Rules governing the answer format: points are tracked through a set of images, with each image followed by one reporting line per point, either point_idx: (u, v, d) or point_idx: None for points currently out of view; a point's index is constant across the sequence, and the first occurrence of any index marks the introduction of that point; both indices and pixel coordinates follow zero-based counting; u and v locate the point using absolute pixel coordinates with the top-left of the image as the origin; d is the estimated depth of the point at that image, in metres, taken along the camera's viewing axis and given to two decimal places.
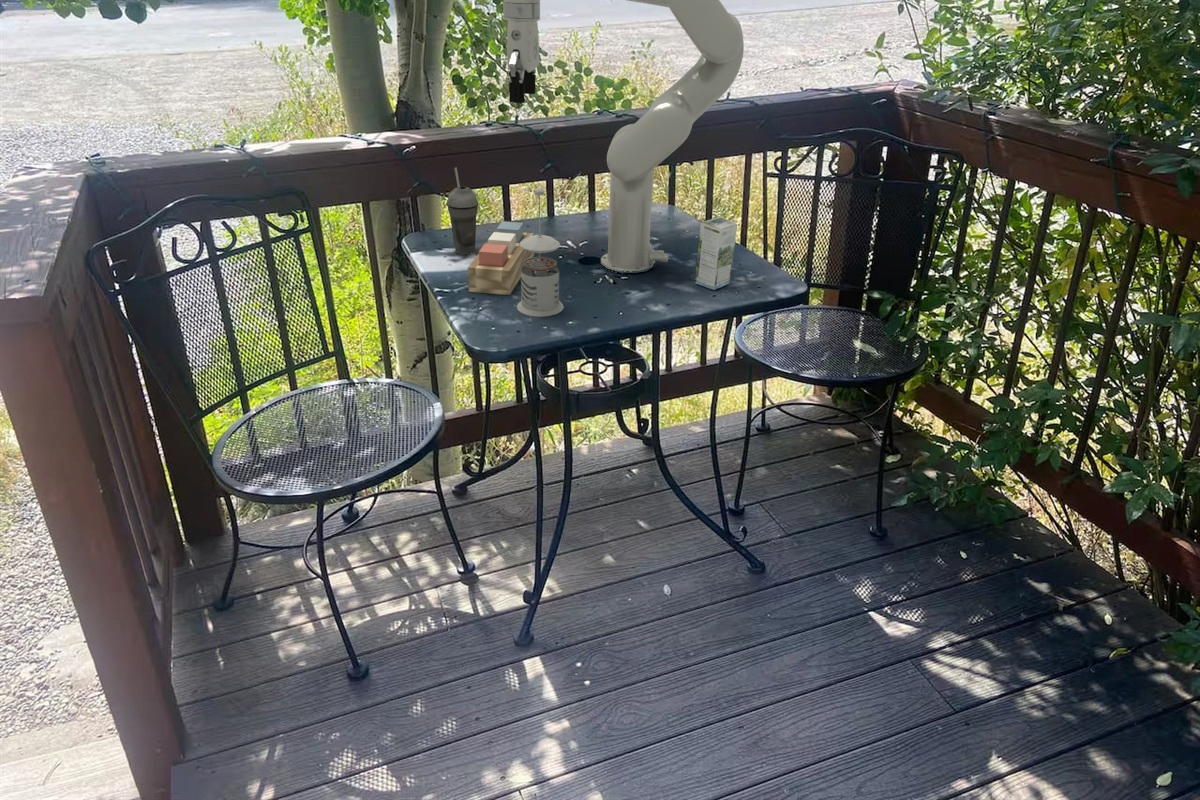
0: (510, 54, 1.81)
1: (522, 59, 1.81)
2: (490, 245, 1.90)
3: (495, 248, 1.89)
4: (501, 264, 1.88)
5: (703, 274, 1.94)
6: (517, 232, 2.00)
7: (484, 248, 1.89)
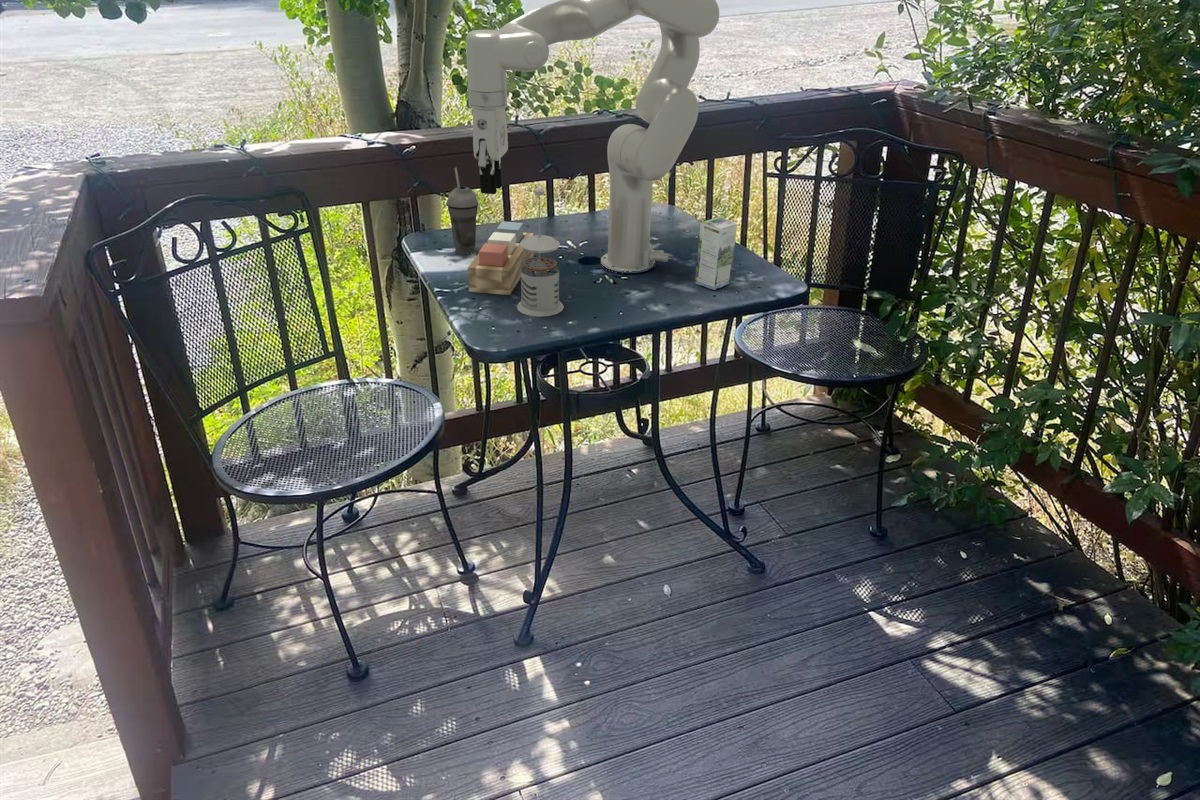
0: (476, 143, 1.73)
1: (489, 148, 1.73)
2: (490, 245, 1.90)
3: (495, 248, 1.89)
4: (501, 264, 1.88)
5: (703, 274, 1.94)
6: (517, 232, 2.00)
7: (484, 248, 1.89)
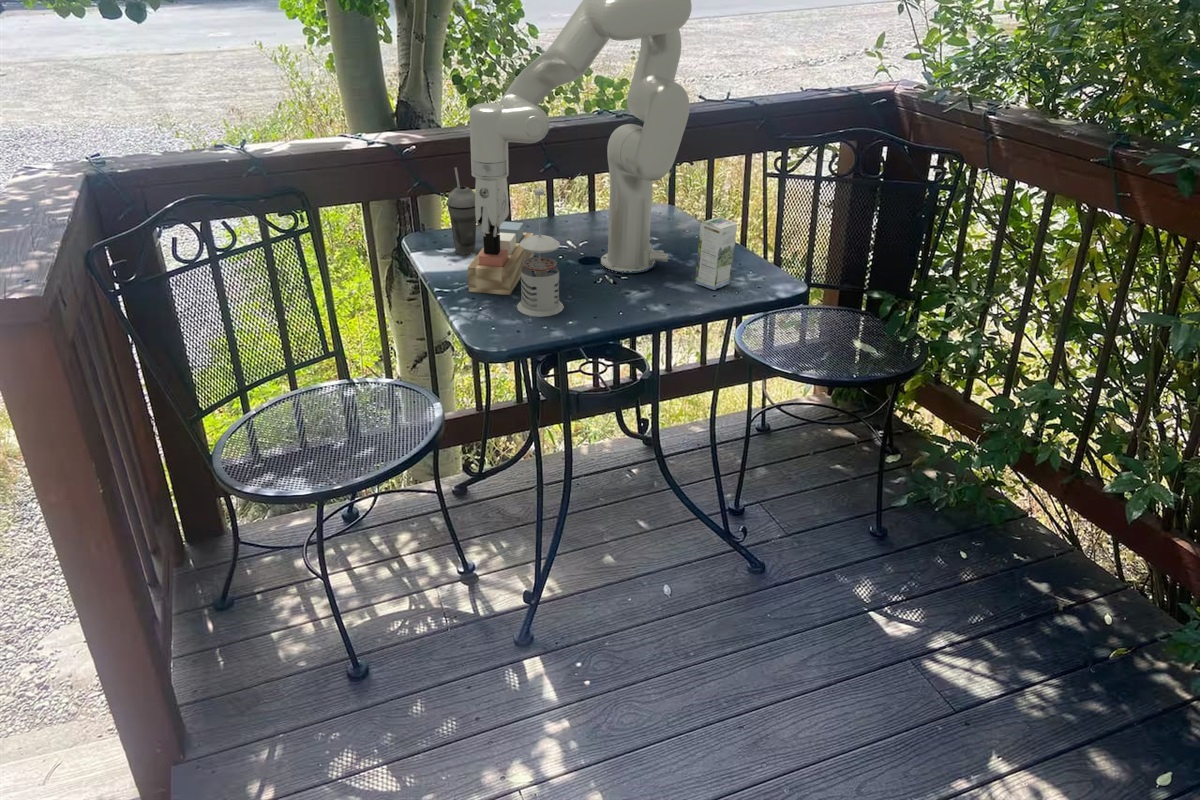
0: (478, 211, 1.80)
1: (490, 216, 1.80)
2: None
3: None
4: None
5: (703, 274, 1.94)
6: (517, 232, 2.00)
7: (484, 253, 1.89)
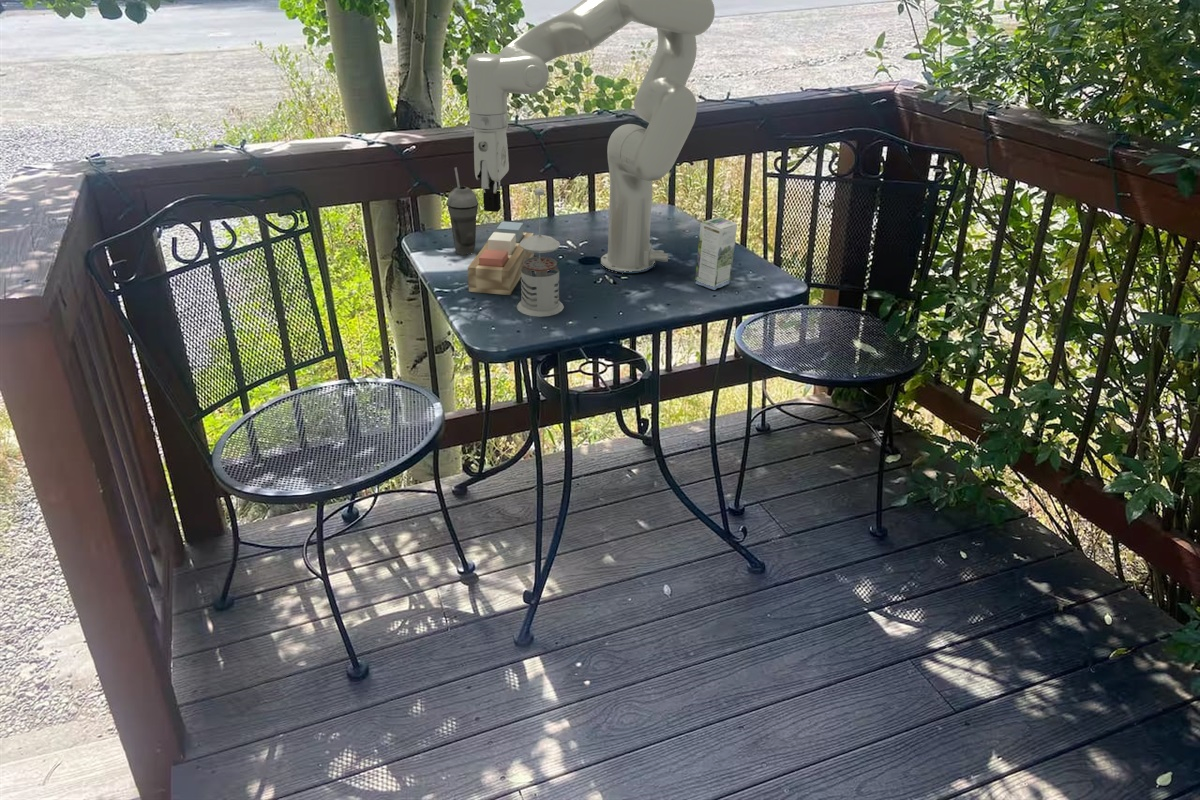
0: (477, 165, 1.75)
1: (490, 170, 1.75)
2: (490, 251, 1.91)
3: (495, 254, 1.90)
4: None
5: (703, 274, 1.94)
6: (517, 232, 2.00)
7: (484, 254, 1.89)
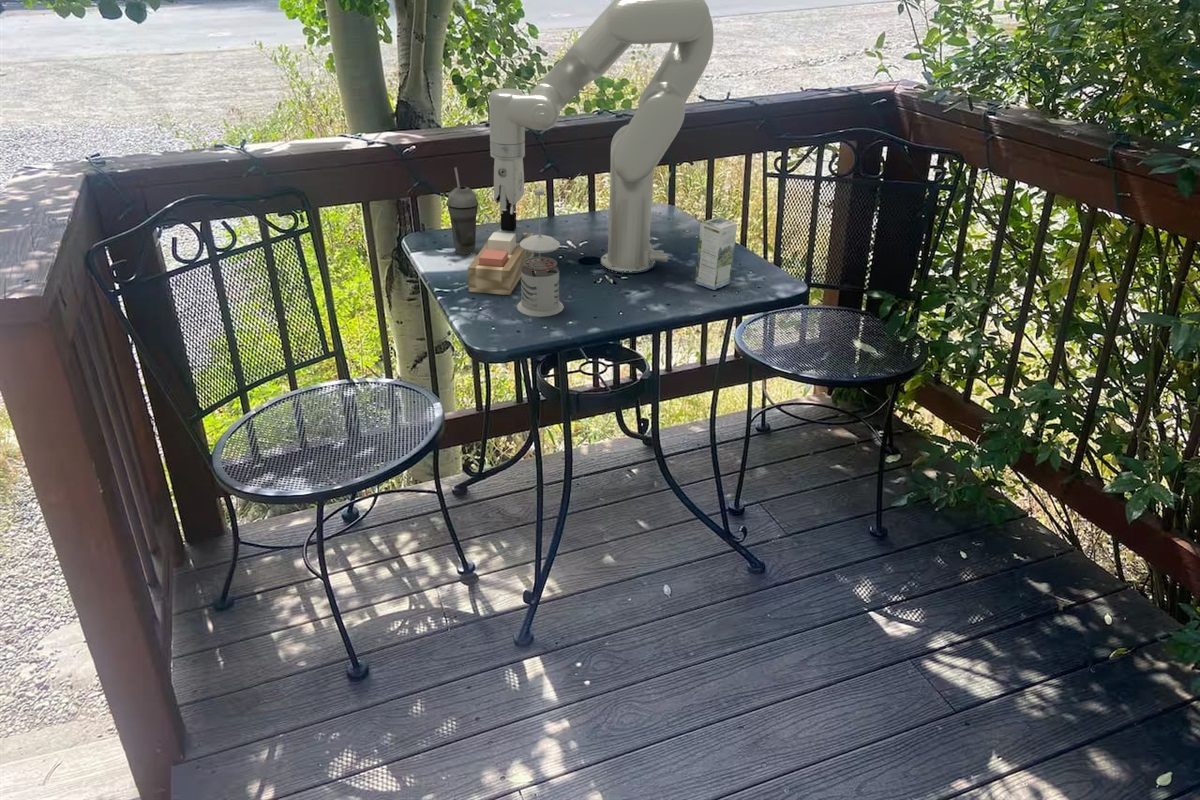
0: (497, 189, 1.93)
1: (508, 194, 1.93)
2: (490, 251, 1.91)
3: (495, 254, 1.90)
4: None
5: (703, 274, 1.94)
6: (517, 236, 2.00)
7: (484, 254, 1.89)
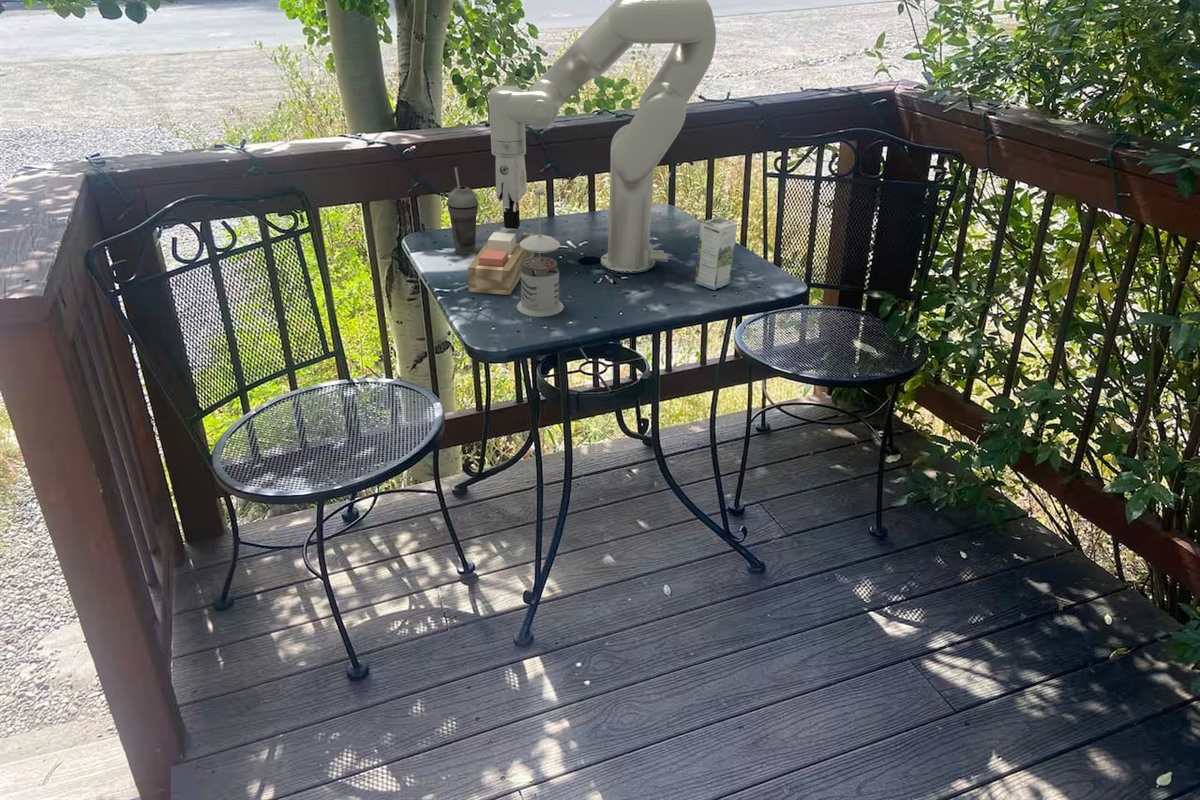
0: (499, 187, 1.93)
1: (510, 191, 1.93)
2: (490, 251, 1.91)
3: (495, 254, 1.90)
4: None
5: (703, 274, 1.94)
6: (517, 238, 2.00)
7: (484, 254, 1.89)
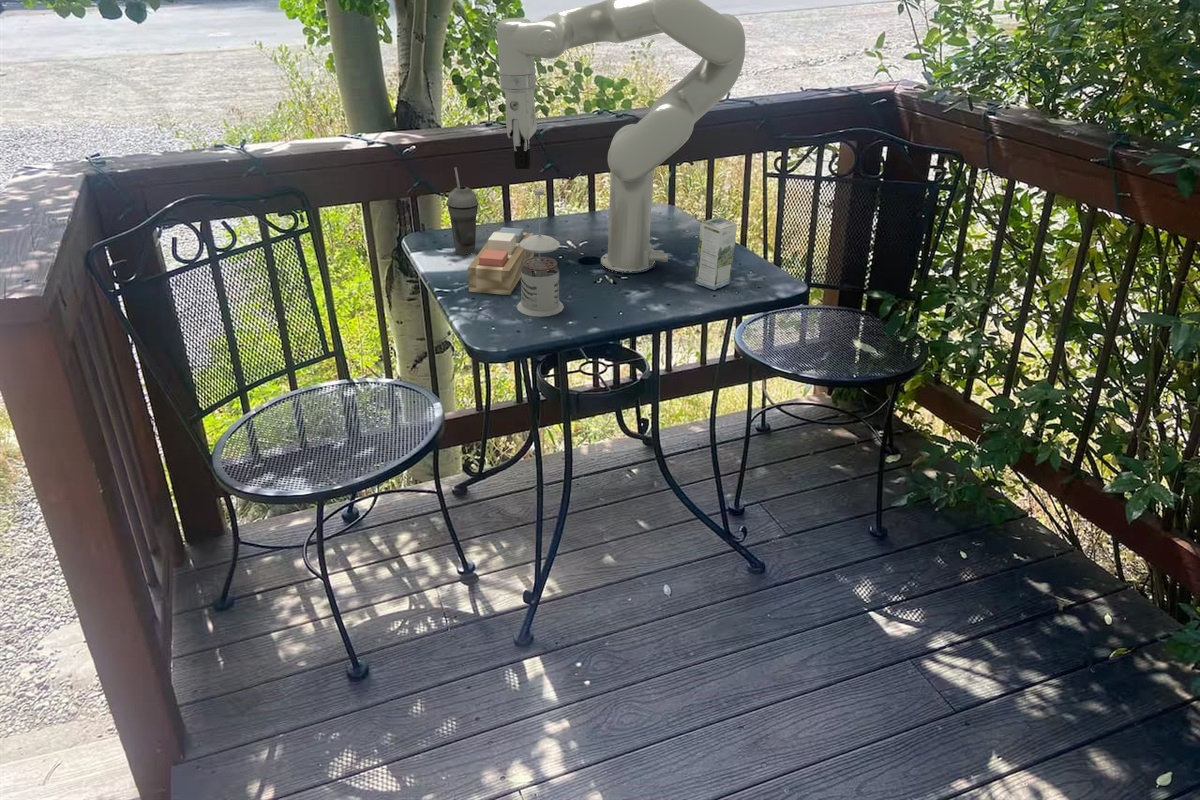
0: (509, 123, 1.88)
1: (521, 128, 1.88)
2: (490, 251, 1.91)
3: (495, 254, 1.90)
4: None
5: (703, 274, 1.94)
6: (517, 238, 2.00)
7: (484, 254, 1.89)
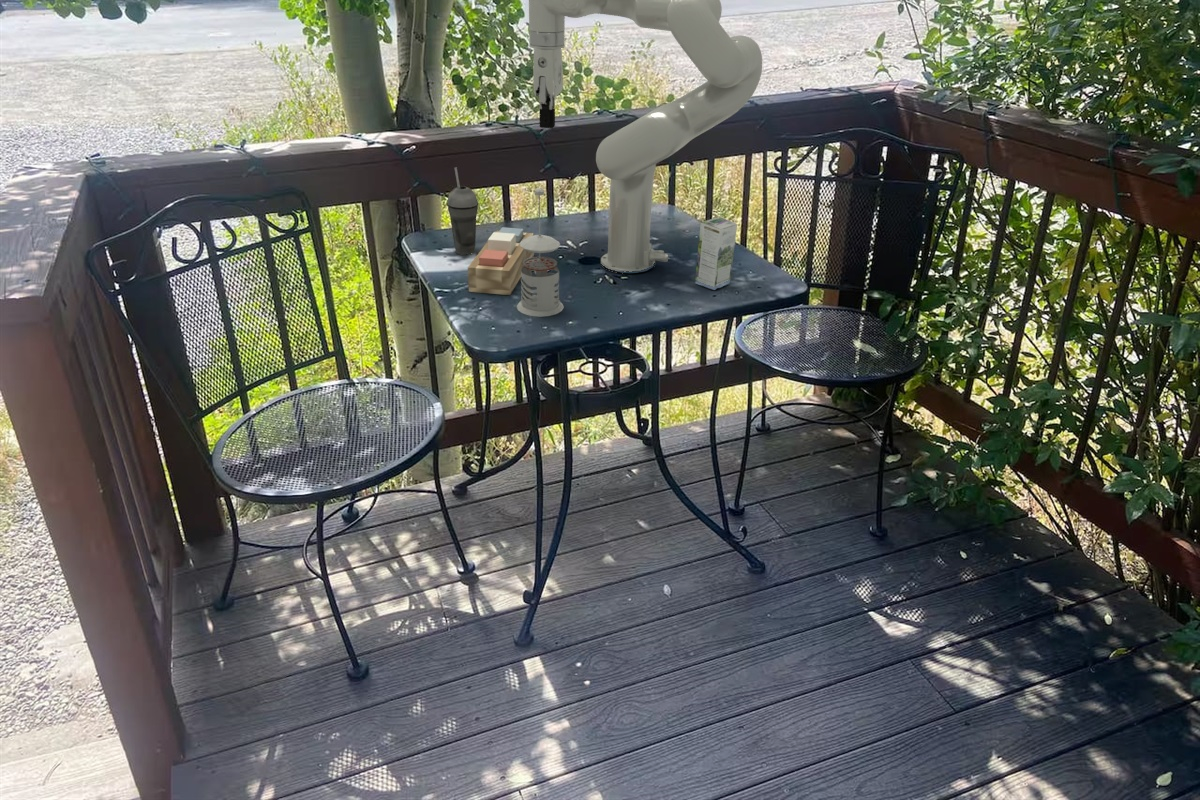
0: (536, 80, 1.88)
1: (548, 85, 1.88)
2: (490, 251, 1.91)
3: (495, 254, 1.90)
4: None
5: (703, 274, 1.94)
6: (517, 238, 2.00)
7: (484, 254, 1.89)
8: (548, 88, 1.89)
